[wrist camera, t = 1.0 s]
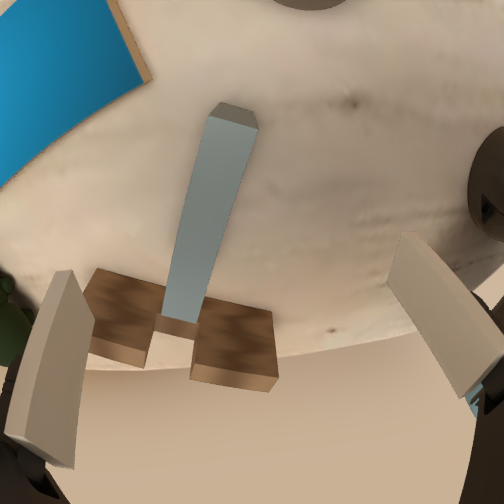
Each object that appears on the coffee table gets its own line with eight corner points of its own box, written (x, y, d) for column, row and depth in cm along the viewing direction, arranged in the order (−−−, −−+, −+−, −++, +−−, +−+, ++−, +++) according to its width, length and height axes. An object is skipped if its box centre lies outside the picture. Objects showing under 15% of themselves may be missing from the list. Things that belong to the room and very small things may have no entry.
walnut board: (271, 311, 38) (278, 377, 29) (263, 327, 39) (268, 392, 31) (97, 268, 34) (64, 326, 25) (97, 286, 35) (67, 345, 27)
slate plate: (220, 102, 25) (208, 115, 16) (252, 111, 25) (258, 129, 17) (179, 250, 33) (161, 314, 24) (206, 257, 33) (196, 323, 25)
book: (145, 81, 20) (-21, 210, 24) (158, 81, 24) (-1, 195, 28) (80, -57, 12) (-68, 99, 16) (98, -45, 15) (-46, 92, 19)
